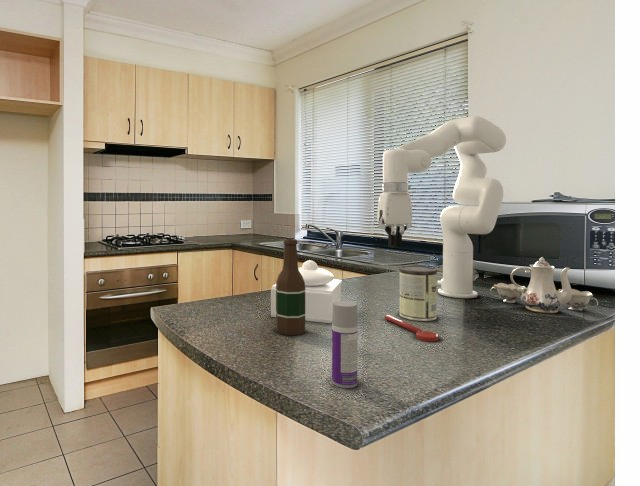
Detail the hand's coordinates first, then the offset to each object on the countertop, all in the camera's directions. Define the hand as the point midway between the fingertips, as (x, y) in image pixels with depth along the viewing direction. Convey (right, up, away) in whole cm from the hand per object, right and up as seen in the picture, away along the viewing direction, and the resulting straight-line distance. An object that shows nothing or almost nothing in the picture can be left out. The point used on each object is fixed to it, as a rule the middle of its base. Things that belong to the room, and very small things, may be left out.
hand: (395, 246), depth 137 cm
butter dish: (-28, -19, -6) cm, 35 cm away
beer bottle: (-36, -20, -24) cm, 47 cm away
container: (-29, -20, -55) cm, 66 cm away
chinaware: (+46, -19, 0) cm, 50 cm away
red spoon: (-5, -20, -23) cm, 30 cm away
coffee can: (+3, -20, -10) cm, 22 cm away
